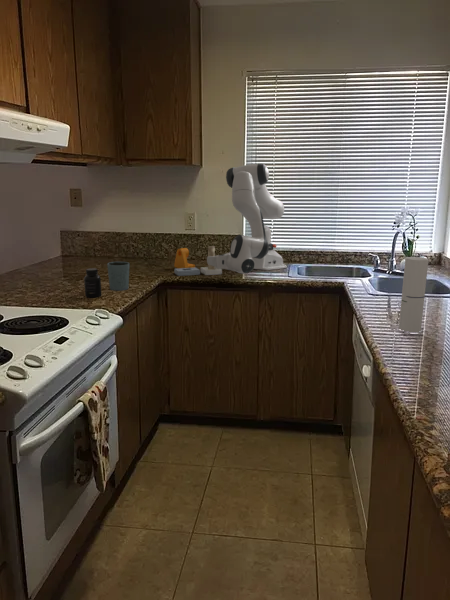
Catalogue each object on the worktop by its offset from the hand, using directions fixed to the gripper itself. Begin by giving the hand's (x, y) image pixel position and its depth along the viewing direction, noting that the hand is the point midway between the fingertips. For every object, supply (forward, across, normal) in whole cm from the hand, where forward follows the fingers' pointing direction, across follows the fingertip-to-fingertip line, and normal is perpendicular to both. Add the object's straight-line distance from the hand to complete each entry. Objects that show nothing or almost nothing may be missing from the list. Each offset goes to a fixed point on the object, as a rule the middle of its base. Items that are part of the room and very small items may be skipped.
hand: (220, 257), depth 257 cm
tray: (+11, 0, +10) cm, 15 cm away
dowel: (+11, 0, +10) cm, 15 cm away
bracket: (+29, +8, +10) cm, 32 cm away
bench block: (+15, +12, +10) cm, 22 cm away
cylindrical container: (-113, -16, +11) cm, 115 cm away
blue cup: (-6, +55, +11) cm, 57 cm away
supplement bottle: (-17, +70, +11) cm, 72 cm away
